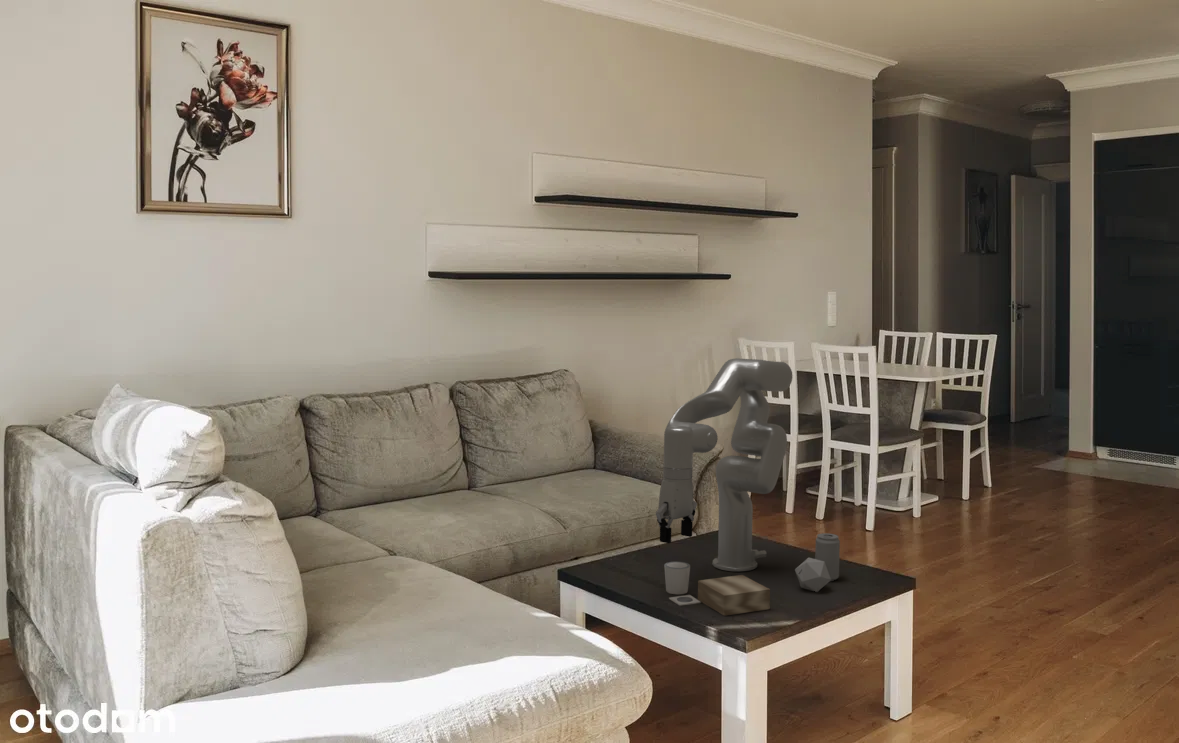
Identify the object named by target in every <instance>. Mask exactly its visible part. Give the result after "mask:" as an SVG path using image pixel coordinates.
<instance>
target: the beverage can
mask: <svg viewBox="0 0 1179 743" xmlns="http://www.w3.org/2000/svg"><path fill="white" fill-rule="evenodd" d="M840 543H841V541H840V538H839V535H837V534H834V533H829V532H828V533H826V532H825V533H823V532H822V533H818V534H816V538H815V551H814V552H815V553H814V554H815V556H814V559H817V560H820V561H824V562H825V564H826V567H827V570H828V573H829V576H830V578H831V580H830V581H829V582H834V580H835V581H836V580H837V579H839V577H840V553H841V552H840V548H841V547H840Z"/></svg>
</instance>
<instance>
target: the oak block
mask: <svg viewBox="0 0 1179 743" xmlns="http://www.w3.org/2000/svg"><path fill="white" fill-rule="evenodd" d="M697 600H699V601H700V602H701V603H702V604H704V605H706V606H707V607H709V608H711V609H712V610H714V611H716V612H717V613H719V614H721V615H722V616H724V617H725V616H732V615H739V614H745V613H752V612H758V611H759V612H760V611H765V610H770V608H771V606H770V605H771V589H770V588H769V587H766V586H765V585H763V584H761V583H758V582H757V581H755V580H753V579H751V578H749V577H748V576H745V575H744V574H738V575H732V576H731V575H730V576H723V577H717V578H708V579H700V580H697Z"/></svg>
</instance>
